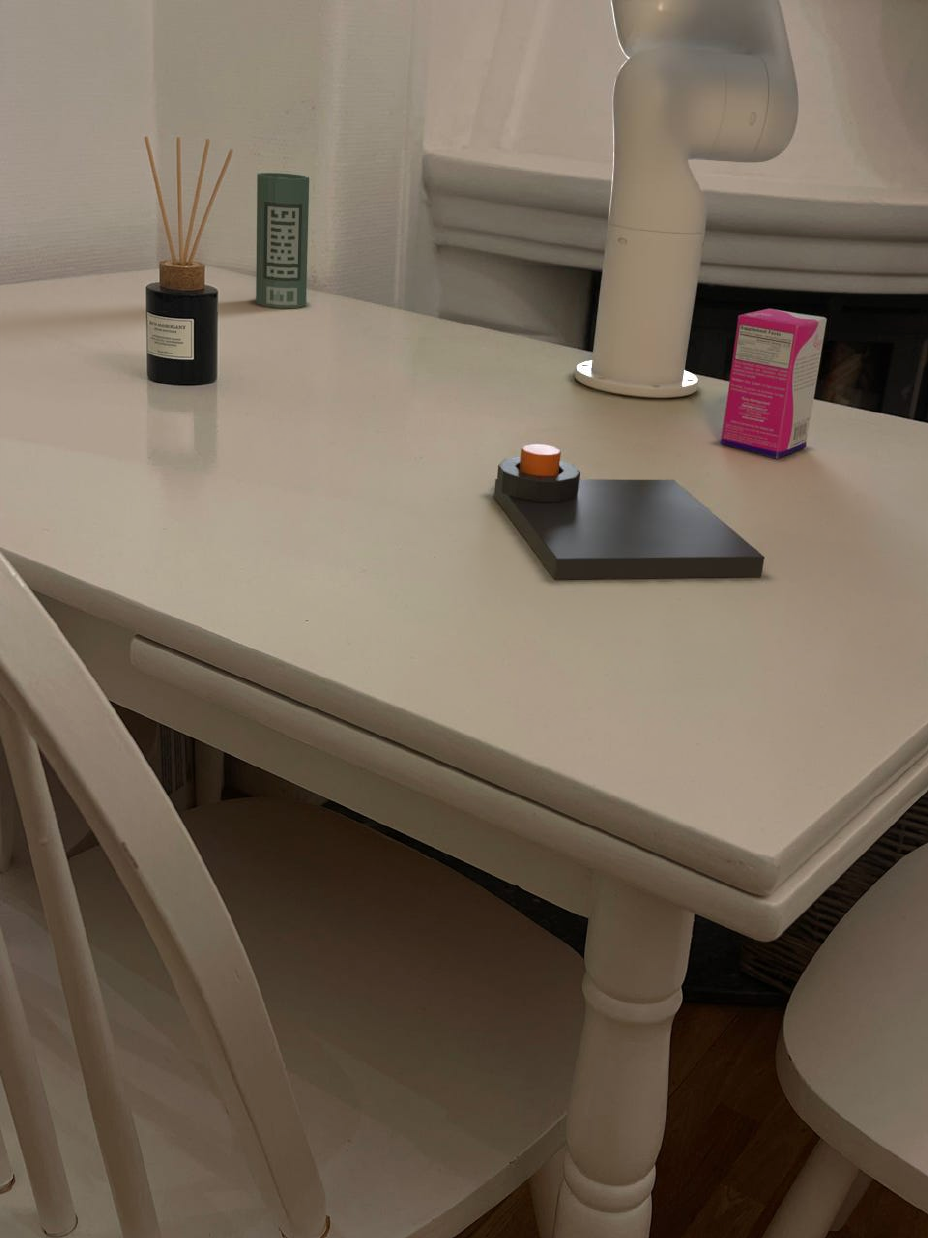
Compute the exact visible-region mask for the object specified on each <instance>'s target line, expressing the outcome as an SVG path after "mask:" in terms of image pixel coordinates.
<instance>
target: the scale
mask: <svg viewBox="0 0 928 1238" xmlns="http://www.w3.org/2000/svg"><path fill="white" fill-rule="evenodd" d="M520 459H521V456H515V457H514V456H513V457H510V458H505V459H503V460H502V461H501V462H500V463H498V465H497V475H496V479H494V489H493V498H494V500H496V502H497V503H498V505H499V506H500V508H501V509H502V510H503V512H504V513H505V514H506V516H507V517H508V519H509V520H510V521H511V523H513V525H514V526H515V528H516V529H517V530H518V532H519V533H520V534H521V535H522V537H523V539H524V540H525V541H526V542H527V544H528V545H529V547H530V548H531V550H532V551H533V552H534V554H535V555H536V556H537V557H538V559H539V560H540V561H541V563H542V564H543V566H544V567H545V568H546V570H547V571H548V572H549V574H550V575H551V577H552V578H553V579H554V580H558V581H559V580H612V579H613V580H620V579H621V580H625V579H627V580H629V579H630V580H631V579H690V578H691V579H697V578H702V579H703V578H761V577H762V573H763V568H764V563H765V556H764V555H763V554H761V552H759V551H758V550H757V549H756V548H754V547H753V546H752V545H751V544H750V543H749V542H747V541H746V540H745V539H744V538H743V537H742V536H740V534H738V533H737V532H736V531H735V530H734V529H733V528H731V527H730V526H729V525H727V524H726V523H725V522H724V521H723V520H722V519H720V518H719V517H718V516H717V515H716V514H715V513H713V512H712V511H711V510H710V509H709V508H708V507H707V506H705V505H704V504H703V503H702V502H701V501H699V500H698V499H697V498H696V497H695V496H694V495H693V494H691V493H690V492H689V491H688V490H687V489H685V488H684V487H683V485H680V483H678V481H676V480H675V479H609V478H607V479H604V478H603V479H601V478H600V479H593V478H592V479H587V478H585V479H584V478H583V479H581V478H580V477H581V471H580V470H579V469H578V468H577V467H576V466H575V465H574V464H571V463H568V462H566V461H562V460H560V465H559V474H558V475H553V476H538V475H532V474H527V473H524V472H522V471H519V469H520Z"/></svg>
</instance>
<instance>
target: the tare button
mask: <svg viewBox="0 0 928 1238" xmlns="http://www.w3.org/2000/svg"><path fill="white" fill-rule="evenodd" d="M561 454H562V452H561V450H560V449H559V447H558V448H557V447H555V446H552V445H549V444H541V443H531V444H525V445H523V446H521V449H520V457H521V459H520V469H519V471H522V472H524V473H527V474H532V475H538V476H553V475H558V474H559V465H560V461H561V456H562V455H561Z"/></svg>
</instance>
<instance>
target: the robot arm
mask: <svg viewBox="0 0 928 1238" xmlns="http://www.w3.org/2000/svg"><path fill="white" fill-rule="evenodd" d="M610 4H611V11H612V16H613V24H614V29H615V34H616V38H617V41H618V44H619V47H620V50H621V51H622V53H623V54H624V56H625V57H626V60H625V61H624V63H623V64H621V66H620V68H619V70H618V71H617V74H616V77H615V80H614V84H613V90H612V103H611V104H612V105H611V111H612V136H613V137H612V138H613V139H612V141H613V146H612V147H613V151H612V152H613V155H612V157H613V158H612V178H611V189H610V200H609V209H608V218H607V231H606V239H605V247H604V256H603V257H604V258H603V264H602V273H601V280H600V290H599V297H598V307H597V315H596V323H595V331H594V332H595V333H594V339H593V340H594V341H593V349H592V358H591V360H585V361H583V362H580V363H578V364H577V365H576V366H575V371H574V377H575V379H576V381H578V382H579V383H580V384H582V385H585V386H587V387H588V388H591V389H595V390H599V391H602V392H606V393H611V394H616V395H621V396H630V397H636V398H637V397H638V398H652V399H653V398H654V399H663V398H664V399H669V398H670V399H672V398H681V397H687V396H690V395H692V394H694V393H695V392H697V390H698V388H699V387H698V386H699V379H698V377H697V376H696V375H695V374H693V373H692V372H690V371H687V370H686V363H687V357H688V349H689V342H690V335H691V329H692V323H693V315H694V308H695V302H696V297H697V296H696V295H697V287H698V281H699V274H700V269H701V262H702V255H703V249H704V241H705V235H706V226H707V219H708V208H707V207H708V206H707V201H706V198H705V195H704V192H703V190H702V188H701V186H700V184H699V182H698V180H697V178H696V177H695V175H694V172H693V170H692V169H691V168H692V167H691V166H690V162H691V161H716V162H731V163H732V162H733V163H764V162H769V161H771V160H774V159H775V158H777V157H778V156H780V155H781V154H782V153H783V152H784V151H785V150H786V149H787V147H788V146H790V143H791V141H792V139H793V137H794V134H795V133H796V132H795V131H796V128H797V123H798V118H799V117H798V116H799V90H798V83H797V77H796V71H795V67H794V66H795V65H794V62H793V57H792V56H793V55H792V52H791V48H790V43H789V39H788V33H787V27H786V24H785V19H784V13H783V10H782V6H781V2H780V0H610Z"/></svg>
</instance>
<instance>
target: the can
mask: <svg viewBox="0 0 928 1238" xmlns="http://www.w3.org/2000/svg"><path fill="white" fill-rule="evenodd" d="M256 177H257V181H256V185H257V186H256V188H257V189H256V272H255V273H256V276H255V277H256V279H255V281H256V282H255V283H256V287H255V290H256V292H255V297H256V298H255V305H259V306H262V307H266V308H273V309H297V308H298V309H300V308H304V307H307V289H308V287H307V286H308V252H309V251H308V246H309V209H310V208H309V206H310V205H309V203H310V176H306V175H301V174H292V173H278V172H274V173H273V172H260V173H259V172H258V173H257V175H256Z"/></svg>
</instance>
